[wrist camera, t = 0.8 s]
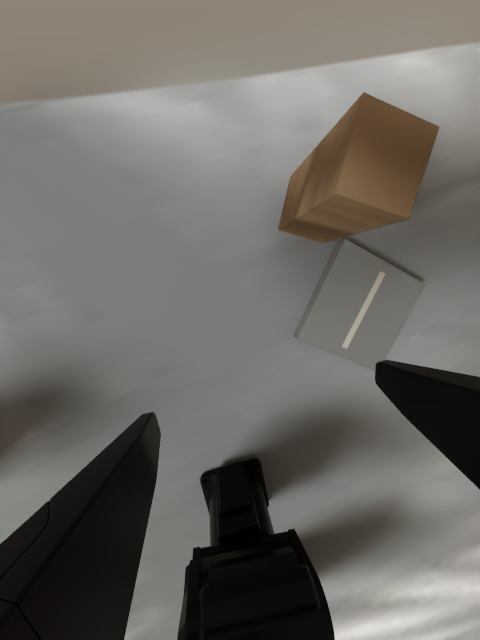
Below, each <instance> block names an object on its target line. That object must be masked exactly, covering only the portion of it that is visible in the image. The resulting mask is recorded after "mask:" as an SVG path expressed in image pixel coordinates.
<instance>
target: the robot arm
mask: <svg viewBox="0 0 480 640" xmlns="http://www.w3.org/2000/svg"><path fill="white" fill-rule="evenodd" d="M375 381H376V384H377V386H378V387H379V388H380V389H381V390H382V391H383V393H384V394H385V395H386V396H387V397H388V398H389V399H390V401H391V402H392V403H393V404H394V405H395V406H396V407H397V409H398V410H399V411H400V412H401V413H402V414H403V415H404V416H405V417H406V418H407V419H408V420H409V421H410V422H411V423H412V424H413V425H414V426H415V427H416V428H417V429H418V430H419V431H420V432H421V433H422V434H423V435H424V436H425V437H426V438H427V439H428V440H429V441H430V442H431V443H432V444H433V445H434V446H435V447H436V448H438V449H439V450H440V451H441V452H442V453H443V454H444V455H445V456H446V457H447V458H448V459H449V460H450V461H451V462H452V463H453V464H454V465H455V466H456V467H457V468H458V469H459V470H460V471H461V472H462V473H463V474H464V475H465V476H466V477H467V478H469V479H470V480H471V481H472V482H473V483H474V484H475V485H476V486H477V487H478V488H479V489H480V377H477V376H471V375H466V374H461V373H455V372H450V371H444V370H439V369H433V368H428V367H423V366H417V365H412V364H406V363H401V362H395V361H390V360H384V361H379V362H377V363H376V366H375ZM160 438H161V433H160V428H159V425H158V421H157V418H156V415H155V413H154V412H150V413H146V414H142V415H141V416H140V417H139V418H138V419H137V420H136V421H134V422H133V423H132V424H131V425H130V426H129V427H128V428H127V429H126V430H125V431H124V432H123V433H121V434H120V435H119V436H118V437H117V438H116V439H115V440H114V441H113V442H112V443H111V444H109V445H108V446H107V447H106V448H105V449H104V450H103V451H102V452H101V453H100V454H99V455H98V456H96V457H95V458H94V459H93V460H92V461H91V462H90V463H89V464H88V465H87V466H86V467H84V468H83V469H82V470H81V471H80V472H79V473H78V474H77V475H76V476H75V477H74V478H73V479H71V480H70V481H69V482H68V483H67V484H66V485H65V486H64V487H63V488H62V489H61V490H59V491H58V492H57V493H56V494H55V495H54V496H53V497H52V498H51V499H50V501H48V502H46V503H45V504H44V505H43V506H42V507H41V508H40V509H39V510H38V511H37V512H36V513H34V514H33V515H32V516H31V517H30V518H29V519H28V520H27V521H26V522H24V523H23V524H22V525H21V526H20V527H19V528H18V529H17V530H16V531H14V532H13V533H12V534H11V535H10V536H9V537H8V538H7V539H5V540H4V541H3V542H2V543H1V544H0V640H124V636H125V632H126V627H127V622H128V617H129V612H130V607H131V602H132V597H133V592H134V588H135V583H136V578H137V573H138V568H139V563H140V558H141V553H142V548H143V543H144V539H145V534H146V529H147V524H148V519H149V514H150V509H151V504H152V499H153V495H154V490H155V484H156V478H157V469H158V459H159V448H160ZM255 464H256V465H255ZM204 479H206V480H204ZM200 482H201V486H202V489H203V493H204V496H205V500H206V503H207V507H208V510H209V514H210V545H211V546H209V547H204V548H200V547H196V548H193V560H190V564H189V565H188V566H187V567H186V572H185V587H184V598H183V605H182V611H181V617H180V624H179V630H178V640H335V638H334V630H333V625H332V620H331V616H330V611H329V607H328V604H327V600H326V597H325V594H324V591H323V588H322V585H321V583H320V580H319V578H318V576H317V573H316V571H315V569H314V567H313V565H312V563H311V561H310V559H309V557H308V555H307V553H306V551H305V549H304V547H303V545H302V543H301V541H300V539H299V537H298V535H297V533H296V531H295V529H290V530H288V531H287V532H282V533H277V534H274V531H273V527H272V523H271V519H270V516H269V512H268V508H267V507H268V506H269V502H268V497H267V493H266V488H265V483H264V478H263V473H262V468H261V464H260V461H259V459H252V460H249V461H246V462H242V463H239V464H236V465H232V466H229V467H226V468H222V469H219V470H215V471H212V472H209V473H205V474H203V475H202V476H201V479H200Z"/></svg>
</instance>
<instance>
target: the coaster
mask: <svg viewBox="0 0 480 640" xmlns="http://www.w3.org/2000/svg"><path fill="white" fill-rule="evenodd" d="M424 286H425V284H424V283H422V282H421V281H419V280H417V279H415V278H414V277H412V276H410V275H408V274H407V273H405V272H403V271H401V270H400V269H398V268H396V267H394V266H392V265H391V264H389V263H387V262H385V261H384V260H382V259H380V258H378V257H377V256H375V255H373V254H371V253H370V252H368V251H366V250H364V249H363V248H361V247H359V246H357V245H355V244H354V243H352V242H350V241H348V240H347V239H343V240H339V241H338V243H337V246H336V248H335V250H334V252H333V254H332V256H331V258H330V260H329V262H328V264H327V266H326V269H325V271H324V273H323V275H322V277H321V279H320V281H319V283H318V285H317V287H316V289H315V292H314V294H313V296H312V298H311V300H310V302H309V304H308V306H307V308H306V310H305V312H304V314H303V317H302V319H301V321H300V323H299V325H298V327H297V329H296V331H295V333H294V335H293V336H294V337H295V338H297V339H299V340H301V341H304V342H306V343H308V344H311V345H313V346H316V347H318V348H320V349H323V350H325V351H328V352H330V353H332V354H335V355H337V356H339V357H342V358H344V359H347V360H349V361H351V362H354V363H356V364H359V365H361V366H363V367H366V368H368V369H371V370H373V371H375V366H376V363H377V362H379V361H384V360H385V358H386V356H387V354H388V353H389V351H390V349H391V347H392V345H393V343H394V341H395V340H396V338H397V336H398V334H399V332H400V330H401V329H402V327H403V325H404V323H405V321H406V319H407V317H408V316H409V314H410V312H411V310H412V308H413V306H414V304H415V303H416V301H417V299H418V297H419V295H420V293H421V291H422V290H423V288H424Z"/></svg>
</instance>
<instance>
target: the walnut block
mask: <svg viewBox="0 0 480 640" xmlns="http://www.w3.org/2000/svg"><path fill="white" fill-rule="evenodd" d="M438 130H439V127H438V126H436V125H434V124H432V123H430V122H427V121H425V120H423V119H421V118H419V117H416V116H414V115H412V114H410V113H408V112H406V111H403V110H401V109H399V108H397V107H395V106H393V105H390V104H388V103H386V102H384V101H382V100H379V99H377V98H375V97H373V96H371V95H369V94H366V93H363V94H362V95H361V96H360V97H359V98H358V100H357V101H356V102H355V103H354V104H353V105H352V106H351V108H350V109H349V110H348V111H347V112H346V113H345V115H344V116H343V117H342V118H341V119H340V120H339V121H338V123H337V124H336V125H335V126H334V127H333V128H332V130H331V131H330V132H329V133H328V134H327V135H326V136H325V138H324V139H323V140H322V141H321V142H320V143H319V145H318V146H317V147H316V148H315V149H314V150H313V151H312V153H311V154H310V155H309V156H308V157H307V158H306V159H305V161H304V162H303V163H302V164H301V165H300V166H299V168H298V169H297V170H296V171H295V172H294V173H293V174H292V176H291V178H290V182H289V186H288V190H287V194H286V198H285V202H284V206H283V210H282V215H281V219H280V223H279V227H278V230H280V231H283V232H287V233H290V234H293V235H297V236H300V237H304V238H307V239H311V240H314V241H317V242H321V243H324V242H328V241H331V240H335V239H338V238H342V237H346V236H349V235H353V234H356V233H360V232H364V231H367V230H371V229H374V228H378V227H381V226H385V225H389V224H392V223H396V222H399V221H403V220H406V219H409V217H410V214H411V211H412V208H413V205H414V202H415V199H416V196H417V193H418V190H419V187H420V184H421V181H422V178H423V175H424V172H425V169H426V166H427V163H428V160H429V157H430V154H431V151H432V148H433V145H434V142H435V139H436V136H437V133H438Z"/></svg>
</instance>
